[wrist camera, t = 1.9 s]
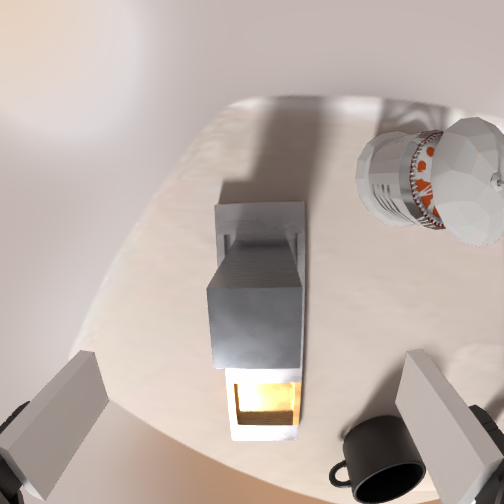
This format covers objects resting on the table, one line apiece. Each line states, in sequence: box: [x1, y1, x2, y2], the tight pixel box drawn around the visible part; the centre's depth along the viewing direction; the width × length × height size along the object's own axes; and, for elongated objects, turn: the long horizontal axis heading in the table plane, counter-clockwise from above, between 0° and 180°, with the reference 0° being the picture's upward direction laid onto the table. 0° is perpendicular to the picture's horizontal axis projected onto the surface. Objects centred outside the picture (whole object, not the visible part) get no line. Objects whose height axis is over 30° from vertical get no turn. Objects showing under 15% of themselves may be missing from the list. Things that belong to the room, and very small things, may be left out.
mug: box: [329, 416, 426, 504], centre depth 31 cm, size 9×12×9 cm
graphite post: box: [206, 239, 303, 369], centre depth 24 cm, size 5×5×14 cm
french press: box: [356, 117, 504, 247], centre depth 16 cm, size 10×12×25 cm
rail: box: [215, 201, 305, 440], centre depth 32 cm, size 8×28×2 cm, turn 2°
